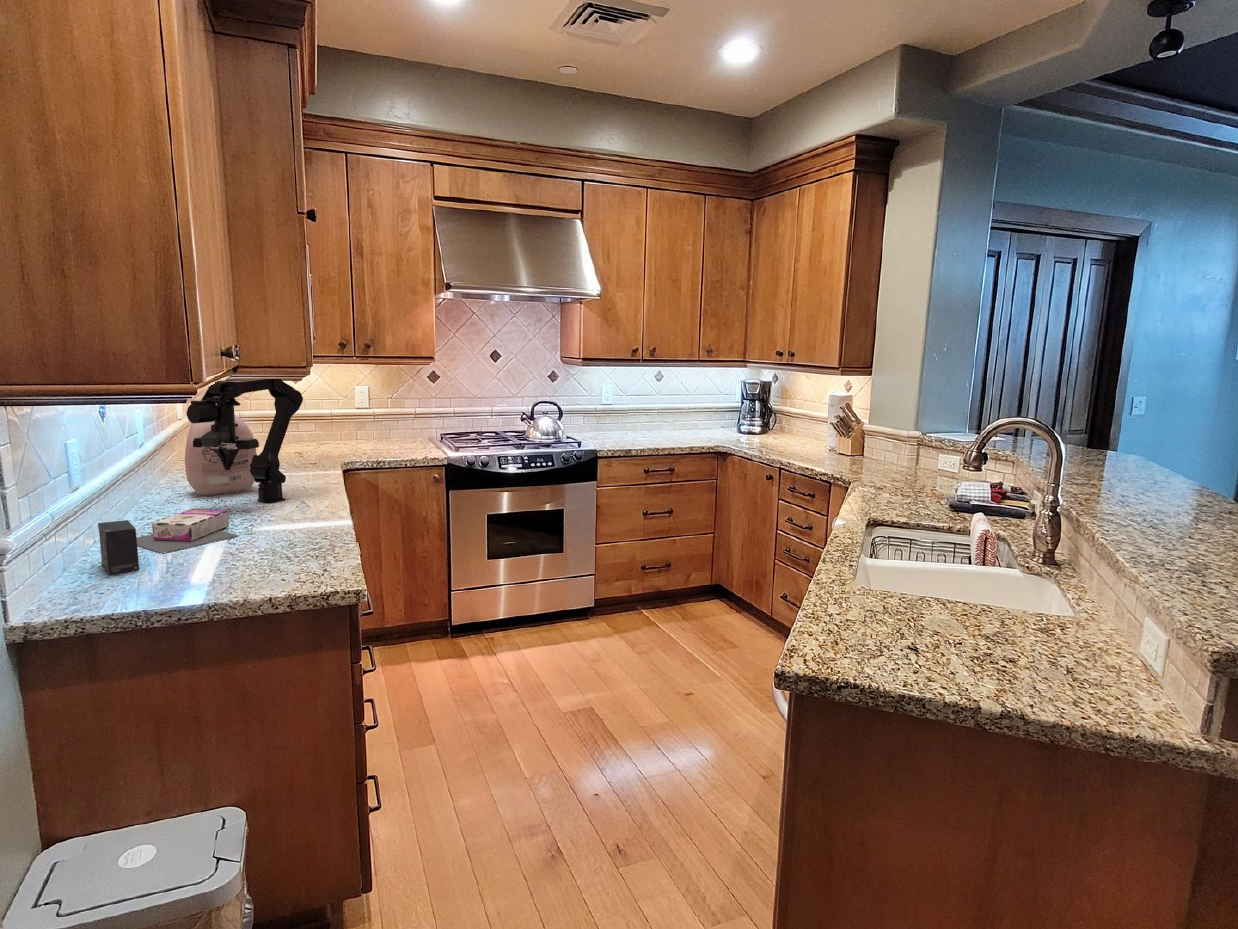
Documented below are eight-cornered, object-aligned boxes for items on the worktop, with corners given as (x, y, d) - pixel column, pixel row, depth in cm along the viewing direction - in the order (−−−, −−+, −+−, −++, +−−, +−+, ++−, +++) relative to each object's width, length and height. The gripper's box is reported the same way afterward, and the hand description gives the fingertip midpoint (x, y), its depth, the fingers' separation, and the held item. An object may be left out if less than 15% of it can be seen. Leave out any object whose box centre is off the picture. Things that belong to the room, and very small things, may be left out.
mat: (199, 525, 204) (199, 524, 204) (238, 536, 194) (238, 535, 194) (123, 541, 187) (123, 540, 187) (161, 554, 177) (161, 553, 177)
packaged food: (250, 485, 260) (244, 404, 255) (266, 494, 246) (260, 409, 241) (182, 492, 246) (174, 407, 240) (195, 502, 231) (187, 412, 226)
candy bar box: (194, 525, 204) (152, 540, 188) (192, 508, 203) (150, 522, 187) (230, 526, 203) (191, 542, 187) (229, 510, 202) (189, 524, 186)
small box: (141, 570, 165) (137, 527, 163) (108, 576, 161) (103, 532, 159) (133, 559, 173) (128, 518, 171) (100, 565, 168) (96, 522, 167)
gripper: (177, 422, 211) (181, 473, 214) (235, 424, 209) (239, 475, 212) (203, 418, 222) (206, 467, 224) (258, 420, 220) (261, 469, 223)
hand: (227, 470), depth 220 cm, fingers closed
